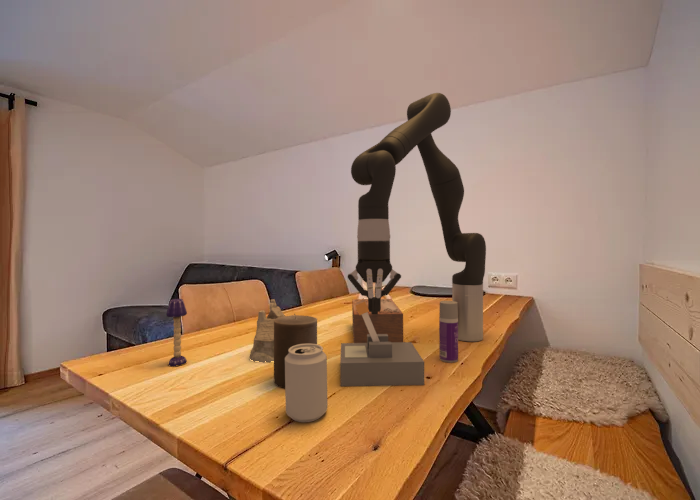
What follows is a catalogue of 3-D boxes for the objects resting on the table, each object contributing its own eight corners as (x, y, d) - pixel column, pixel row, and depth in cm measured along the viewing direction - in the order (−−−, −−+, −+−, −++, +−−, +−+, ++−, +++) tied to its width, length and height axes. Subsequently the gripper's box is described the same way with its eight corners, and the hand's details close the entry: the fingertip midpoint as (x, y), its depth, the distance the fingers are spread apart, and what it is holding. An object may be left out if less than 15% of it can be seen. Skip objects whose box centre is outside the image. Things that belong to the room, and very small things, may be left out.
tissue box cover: (403, 347, 98) (403, 313, 97) (354, 348, 97) (353, 314, 97) (391, 325, 123) (391, 298, 123) (352, 326, 123) (352, 299, 123)
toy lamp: (192, 362, 87) (190, 298, 86) (176, 368, 82) (174, 301, 82) (179, 359, 89) (177, 297, 88) (163, 365, 84) (161, 300, 84)
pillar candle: (280, 392, 68) (280, 320, 68) (269, 376, 77) (269, 311, 77) (324, 383, 73) (324, 315, 73) (308, 368, 82) (308, 307, 81)
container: (459, 363, 84) (459, 304, 83) (440, 362, 85) (439, 303, 84) (457, 356, 88) (456, 300, 88) (438, 355, 89) (438, 300, 89)
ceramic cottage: (240, 359, 88) (243, 303, 88) (274, 344, 103) (277, 295, 103) (292, 370, 82) (295, 310, 82) (320, 352, 98) (323, 301, 98)
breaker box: (341, 362, 85) (340, 331, 85) (411, 361, 85) (411, 330, 85) (340, 386, 71) (340, 349, 71) (424, 384, 71) (424, 347, 71)
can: (287, 404, 63) (286, 342, 63) (327, 402, 64) (326, 340, 64) (283, 426, 56) (282, 355, 56) (327, 423, 57) (327, 353, 56)
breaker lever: (374, 349, 80) (354, 302, 80) (383, 345, 80) (363, 298, 80) (376, 355, 76) (355, 305, 76) (386, 351, 76) (365, 301, 76)
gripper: (399, 239, 81) (399, 310, 82) (345, 240, 81) (345, 310, 81) (404, 239, 74) (405, 316, 74) (345, 239, 73) (346, 317, 74)
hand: (374, 313), depth 78 cm, fingers closed
